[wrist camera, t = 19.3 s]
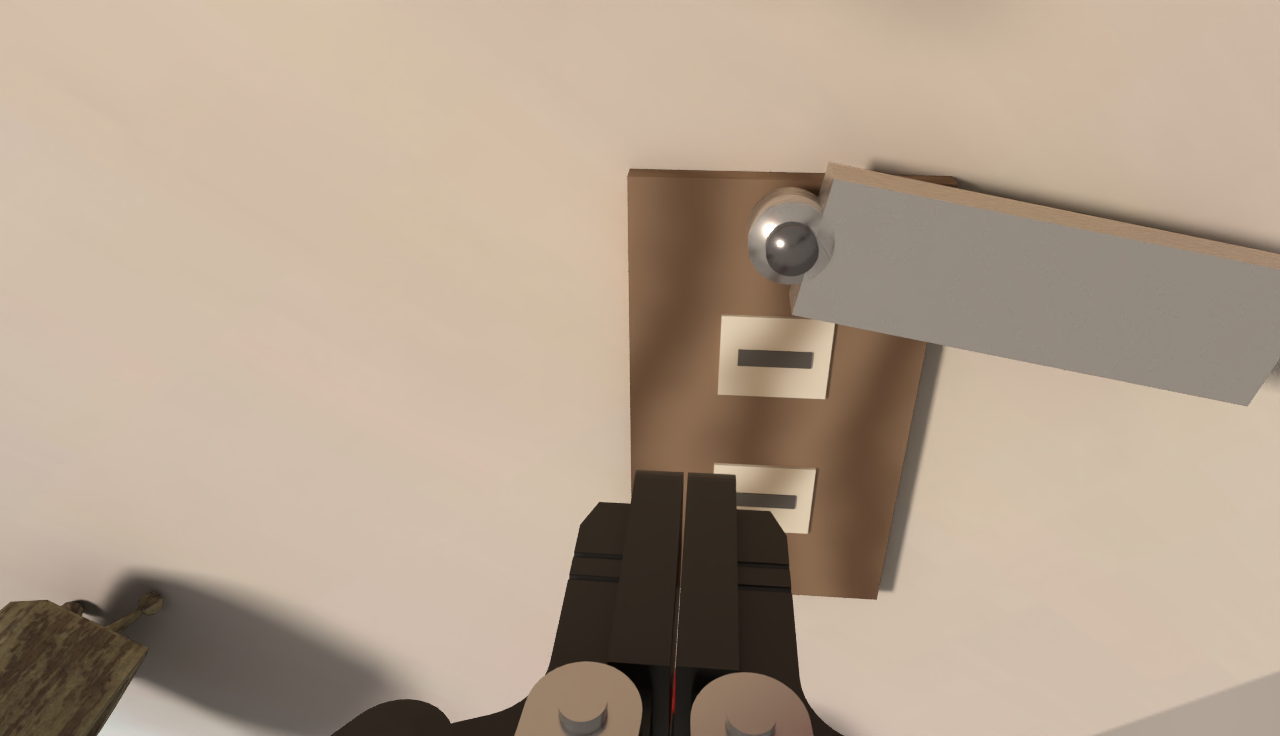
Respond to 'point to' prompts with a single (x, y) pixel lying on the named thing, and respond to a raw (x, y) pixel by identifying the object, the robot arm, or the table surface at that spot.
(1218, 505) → the table surface
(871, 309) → the swing arm
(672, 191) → the label panel
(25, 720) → the tabletop clock
